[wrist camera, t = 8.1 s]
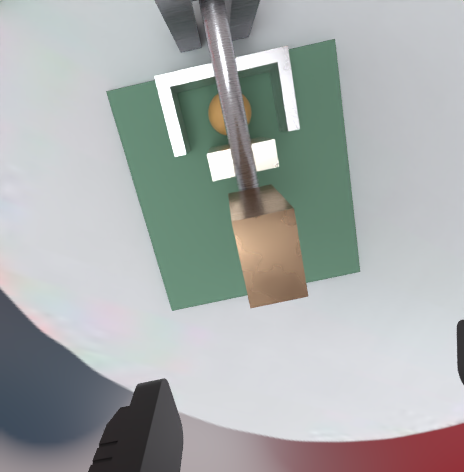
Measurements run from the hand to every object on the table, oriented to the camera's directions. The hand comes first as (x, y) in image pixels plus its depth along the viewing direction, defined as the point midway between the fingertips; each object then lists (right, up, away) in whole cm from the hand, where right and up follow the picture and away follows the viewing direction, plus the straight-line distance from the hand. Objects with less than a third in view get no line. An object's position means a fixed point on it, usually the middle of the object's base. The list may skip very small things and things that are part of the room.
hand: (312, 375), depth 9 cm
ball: (-2, +15, +22) cm, 27 cm away
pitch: (-1, +9, +27) cm, 29 cm away
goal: (-3, +16, +24) cm, 29 cm away
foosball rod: (-3, +20, +22) cm, 30 cm away
